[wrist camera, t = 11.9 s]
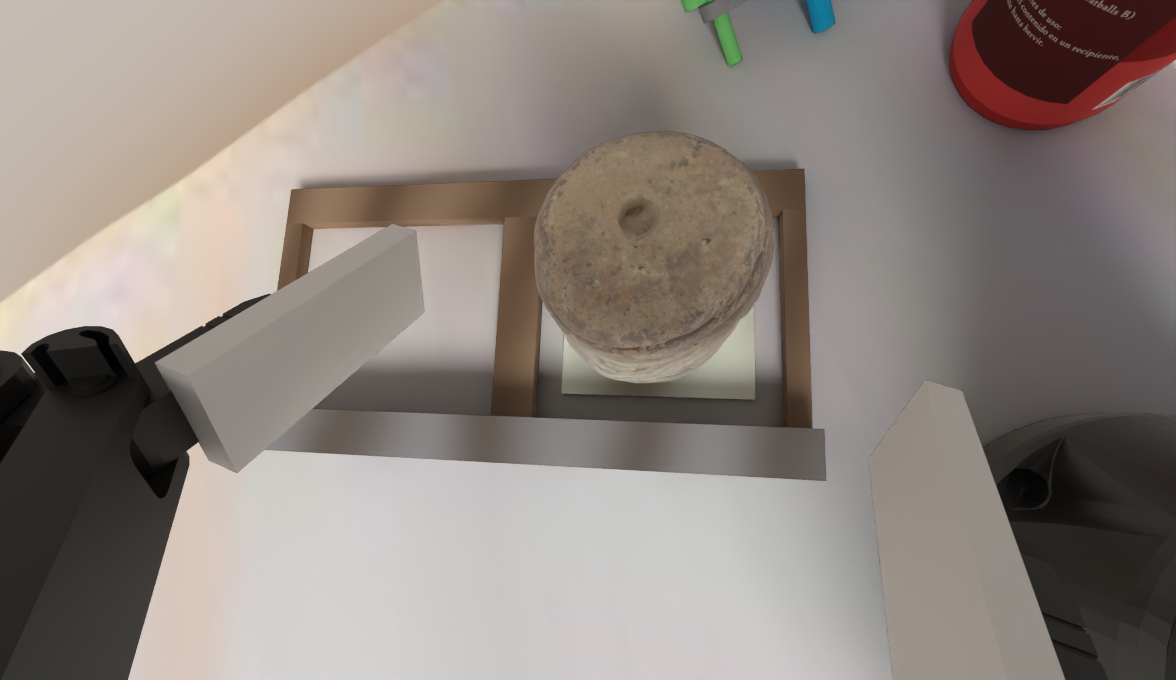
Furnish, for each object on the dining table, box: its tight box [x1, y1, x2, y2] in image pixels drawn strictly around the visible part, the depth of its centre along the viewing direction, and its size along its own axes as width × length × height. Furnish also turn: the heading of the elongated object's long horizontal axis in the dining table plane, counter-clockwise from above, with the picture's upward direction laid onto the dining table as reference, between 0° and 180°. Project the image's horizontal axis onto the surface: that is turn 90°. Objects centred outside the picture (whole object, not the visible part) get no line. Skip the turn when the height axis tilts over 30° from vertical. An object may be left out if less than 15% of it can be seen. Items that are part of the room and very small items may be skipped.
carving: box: [534, 131, 774, 383], centre depth 18 cm, size 6×8×12 cm
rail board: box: [265, 169, 826, 481], centre depth 24 cm, size 27×14×2 cm, turn 88°
